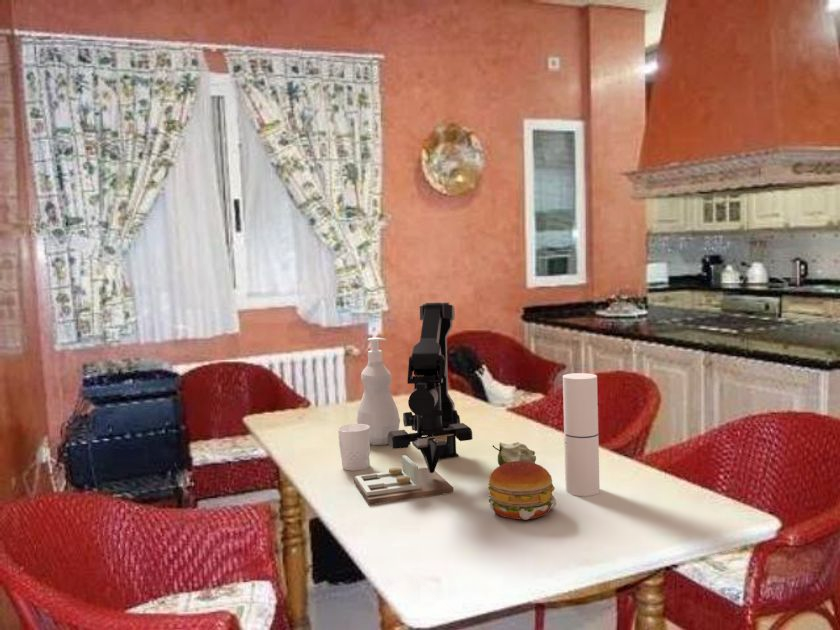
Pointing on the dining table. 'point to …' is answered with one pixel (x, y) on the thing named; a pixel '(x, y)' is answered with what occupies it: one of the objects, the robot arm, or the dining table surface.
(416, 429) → the robot arm
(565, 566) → the dining table surface
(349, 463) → the white cup
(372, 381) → the soap bottle
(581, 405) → the cylindrical container
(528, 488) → the burger
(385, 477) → the panel
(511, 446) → the fruit
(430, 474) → the board
